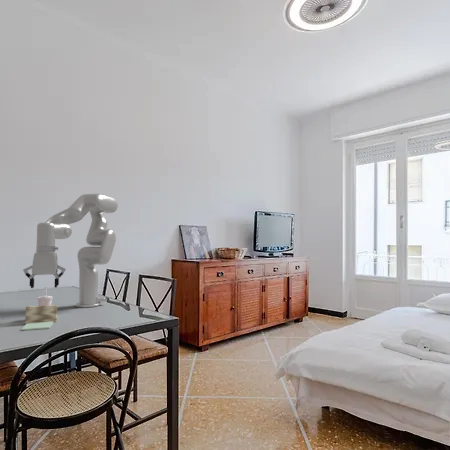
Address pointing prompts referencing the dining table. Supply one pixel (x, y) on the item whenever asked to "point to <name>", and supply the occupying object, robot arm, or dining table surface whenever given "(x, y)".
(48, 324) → the mat
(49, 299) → the smoothie
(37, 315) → the screen
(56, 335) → the dining table surface
